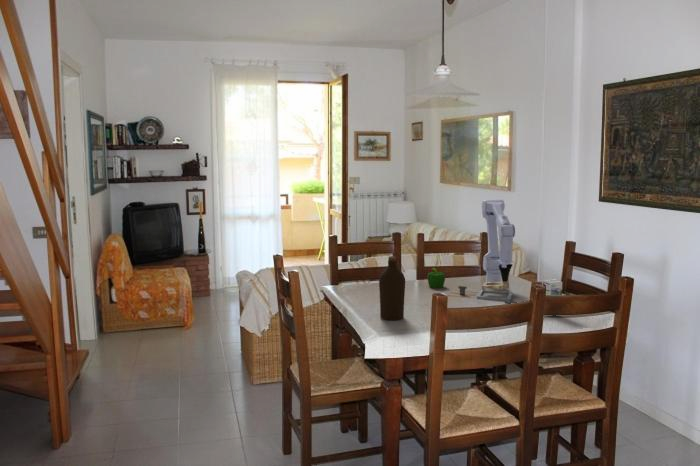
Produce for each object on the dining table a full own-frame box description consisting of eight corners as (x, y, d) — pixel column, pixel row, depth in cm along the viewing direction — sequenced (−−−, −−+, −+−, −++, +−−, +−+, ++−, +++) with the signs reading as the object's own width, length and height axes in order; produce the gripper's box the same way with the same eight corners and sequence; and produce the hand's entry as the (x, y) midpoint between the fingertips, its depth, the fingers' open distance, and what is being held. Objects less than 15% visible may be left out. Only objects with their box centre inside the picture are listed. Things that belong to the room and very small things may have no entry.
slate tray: (480, 293, 294) (480, 289, 294) (512, 295, 289) (512, 291, 289) (476, 300, 280) (476, 296, 280) (509, 302, 276) (509, 298, 275)
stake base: (452, 292, 297) (452, 282, 296) (477, 294, 293) (477, 283, 292) (447, 298, 285) (447, 287, 285) (473, 299, 281) (474, 289, 281)
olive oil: (393, 322, 245) (394, 260, 241) (373, 317, 252) (373, 257, 249) (410, 317, 252) (410, 256, 249) (390, 312, 260) (390, 253, 256)
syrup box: (549, 317, 252) (550, 282, 250) (541, 313, 257) (542, 279, 255) (561, 316, 253) (563, 281, 251) (553, 312, 259) (554, 278, 257)
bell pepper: (447, 289, 303) (448, 269, 302) (433, 291, 300) (433, 270, 299) (439, 286, 311) (439, 266, 309) (424, 287, 308) (425, 267, 306)
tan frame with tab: (510, 285, 286) (509, 274, 286) (508, 289, 278) (507, 277, 277) (484, 286, 290) (484, 274, 289) (482, 290, 282) (481, 278, 281)
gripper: (498, 248, 288) (497, 277, 290) (495, 253, 275) (494, 283, 277) (514, 249, 286) (513, 278, 288) (511, 253, 273) (510, 284, 274)
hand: (505, 280), depth 282 cm, fingers closed on tan frame with tab, 2 cm apart
